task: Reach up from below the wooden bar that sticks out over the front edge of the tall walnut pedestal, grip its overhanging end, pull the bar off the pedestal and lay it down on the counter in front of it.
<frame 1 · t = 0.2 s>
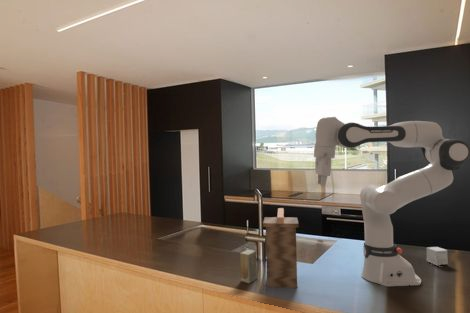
hand: (321, 185, 136), 40 cm above the counter, tool pointing down, fingers open, 8 cm apart
bar: (280, 218, 134), point 26 cm above the counter, touching pedestal
pedestal: (282, 282, 130), on the counter
skincare box 2: (249, 280, 133), on the counter
skincare box: (437, 264, 147), on the counter
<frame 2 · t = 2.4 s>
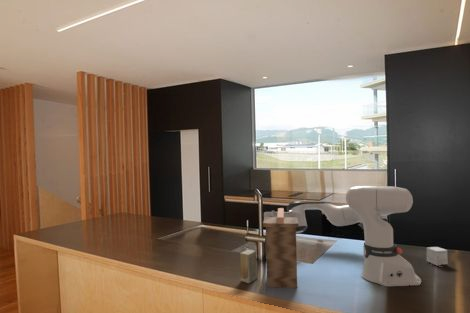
hand: (282, 212, 164), 23 cm above the counter, tool pointing upward, fingers open, 8 cm apart
nothing on the counter moved.
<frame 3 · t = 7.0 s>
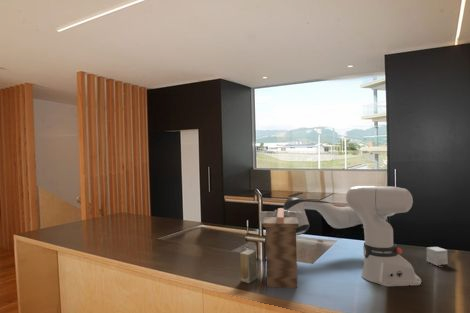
hand: (280, 211, 140), 28 cm above the counter, tool pointing upward, fingers closed on bar, 2 cm apart
bar: (280, 218, 134), point 26 cm above the counter, touching gripper
everything else where it was.
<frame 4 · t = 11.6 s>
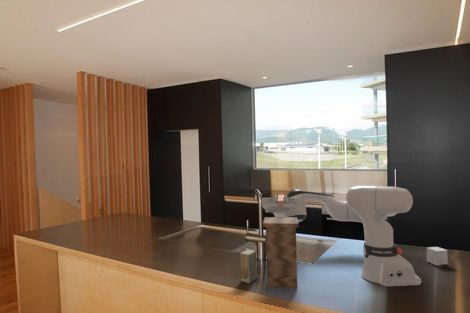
hand: (280, 197, 158), 32 cm above the counter, tool pointing upward, fingers closed on bar, 2 cm apart
bar: (280, 202, 152), point 30 cm above the counter, touching gripper
everything else where it was.
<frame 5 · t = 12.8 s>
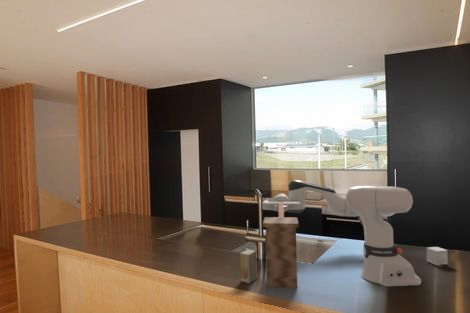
hand: (281, 208, 160), 26 cm above the counter, tool horizontal, fingers closed on bar, 2 cm apart
bar: (281, 218, 155), point 21 cm above the counter, tilted 30°, touching gripper
everything else where it was.
when the fingers open (13 cm above the counter, at t = 16.3 s): bar drops 9 cm, on the counter.
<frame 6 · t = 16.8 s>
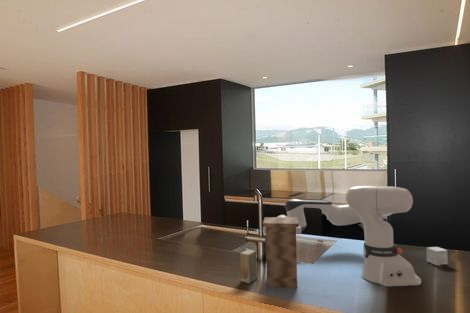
hand: (281, 233, 160), 13 cm above the counter, tool horizontal, fingers open, 7 cm apart
bar: (283, 260, 158), on the counter
everything else where it was.
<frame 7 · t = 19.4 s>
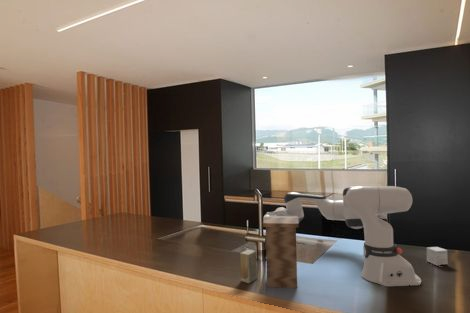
hand: (281, 222, 172), 16 cm above the counter, tool horizontal, fingers open, 8 cm apart
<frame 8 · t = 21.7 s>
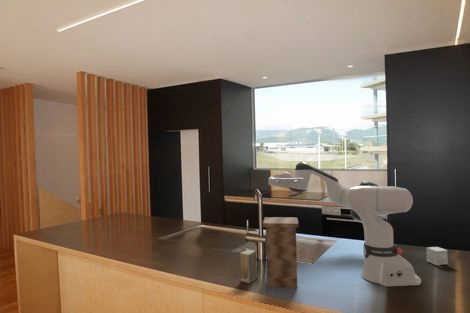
hand: (286, 182, 169), 38 cm above the counter, tool horizontal, fingers open, 8 cm apart
at the end: bar inside the target area (2.8 cm from its centre), on the counter; bar touching counter; the gripper is holding nothing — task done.
